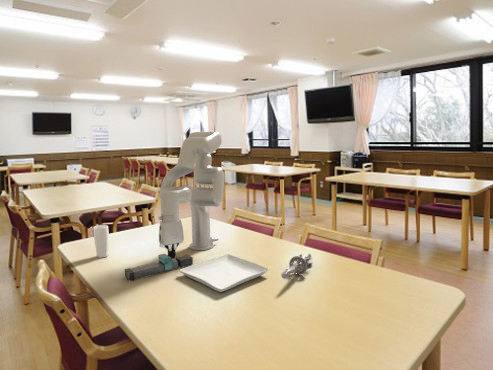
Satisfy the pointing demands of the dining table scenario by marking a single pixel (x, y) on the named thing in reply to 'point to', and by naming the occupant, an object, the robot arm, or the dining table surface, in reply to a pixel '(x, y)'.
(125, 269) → the bar
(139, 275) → the tongs frame
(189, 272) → the square plate
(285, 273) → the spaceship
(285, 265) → the dining table surface
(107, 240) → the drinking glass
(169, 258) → the teal rectangular block
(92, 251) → the dining table surface
